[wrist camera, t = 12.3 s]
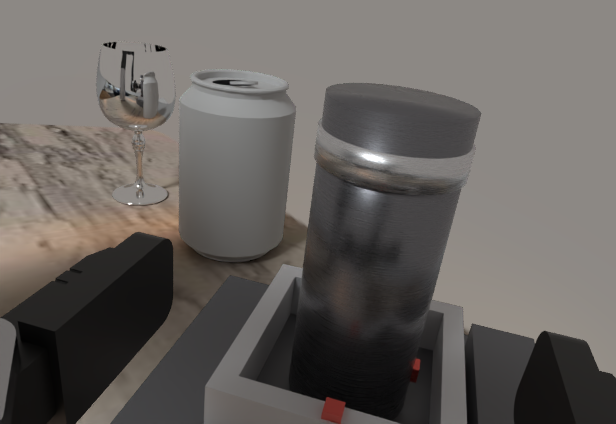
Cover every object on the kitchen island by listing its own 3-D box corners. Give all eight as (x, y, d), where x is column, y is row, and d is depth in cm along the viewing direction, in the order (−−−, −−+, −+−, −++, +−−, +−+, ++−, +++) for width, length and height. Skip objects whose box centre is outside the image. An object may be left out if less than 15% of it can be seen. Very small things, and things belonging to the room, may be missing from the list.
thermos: (268, 410, 17) (303, 100, 13) (305, 331, 22) (340, 76, 17) (403, 452, 16) (493, 134, 12) (414, 361, 21) (484, 99, 16)
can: (257, 214, 41) (269, 65, 36) (299, 258, 35) (320, 89, 30) (167, 225, 37) (165, 62, 32) (196, 277, 32) (200, 88, 26)
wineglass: (189, 191, 43) (190, 50, 38) (145, 215, 38) (141, 56, 33) (135, 176, 45) (130, 38, 40) (87, 197, 40) (74, 43, 35)
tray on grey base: (113, 507, 18) (102, 373, 15) (226, 337, 27) (232, 235, 24) (518, 655, 15) (592, 525, 12) (493, 412, 24) (533, 306, 21)
